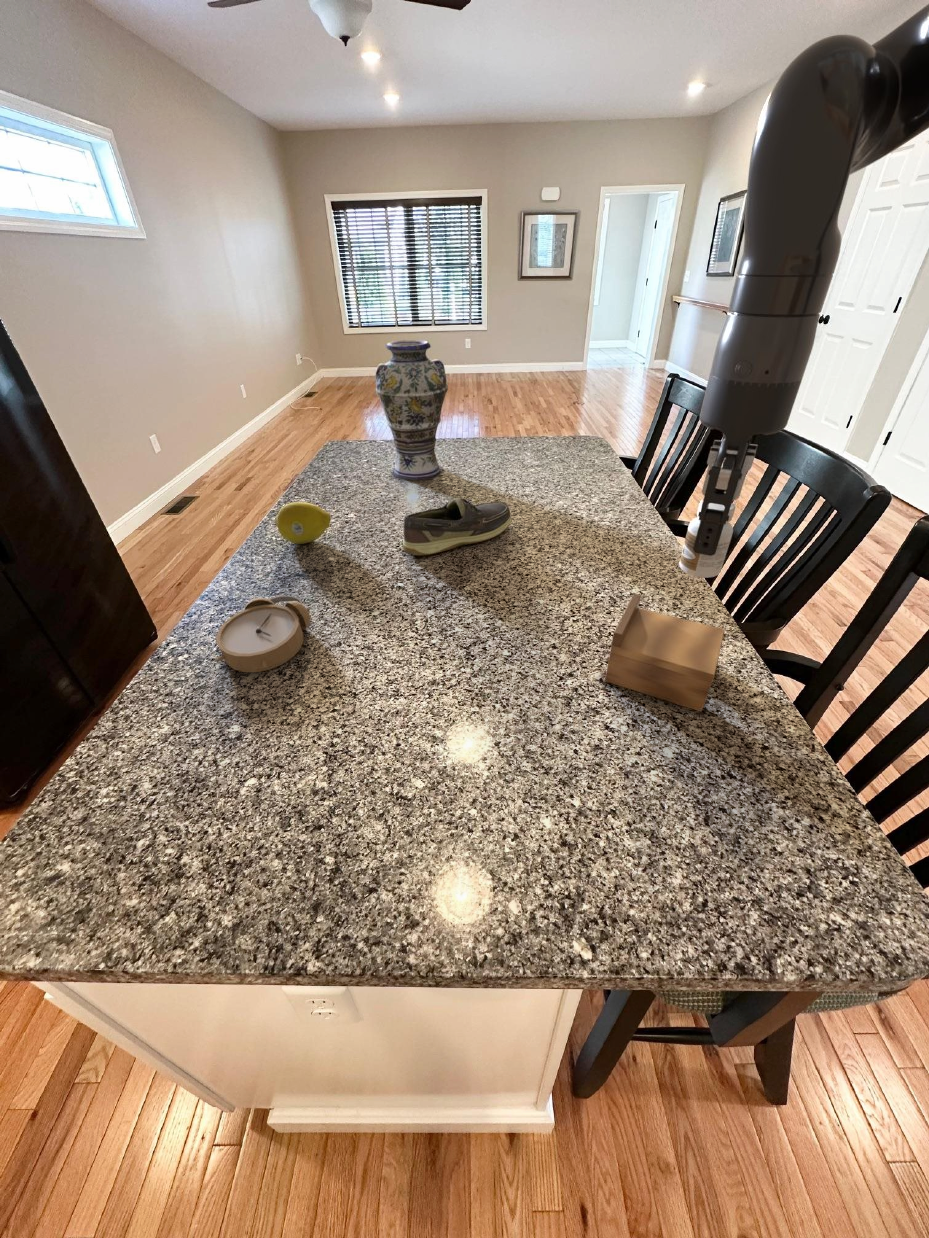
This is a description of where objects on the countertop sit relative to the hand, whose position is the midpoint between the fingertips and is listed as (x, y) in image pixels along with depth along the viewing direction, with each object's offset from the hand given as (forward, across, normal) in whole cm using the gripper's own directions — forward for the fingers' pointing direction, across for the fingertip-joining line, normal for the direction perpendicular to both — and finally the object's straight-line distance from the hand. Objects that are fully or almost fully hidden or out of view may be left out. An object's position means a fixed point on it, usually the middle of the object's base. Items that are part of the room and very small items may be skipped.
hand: (707, 542), depth 56 cm
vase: (+20, +53, +73) cm, 93 cm away
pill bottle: (+4, 0, 0) cm, 4 cm away
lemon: (+20, +9, +71) cm, 75 cm away
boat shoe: (+20, +24, +44) cm, 54 cm away
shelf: (+20, +1, +1) cm, 20 cm away
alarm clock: (+20, -18, +53) cm, 60 cm away
